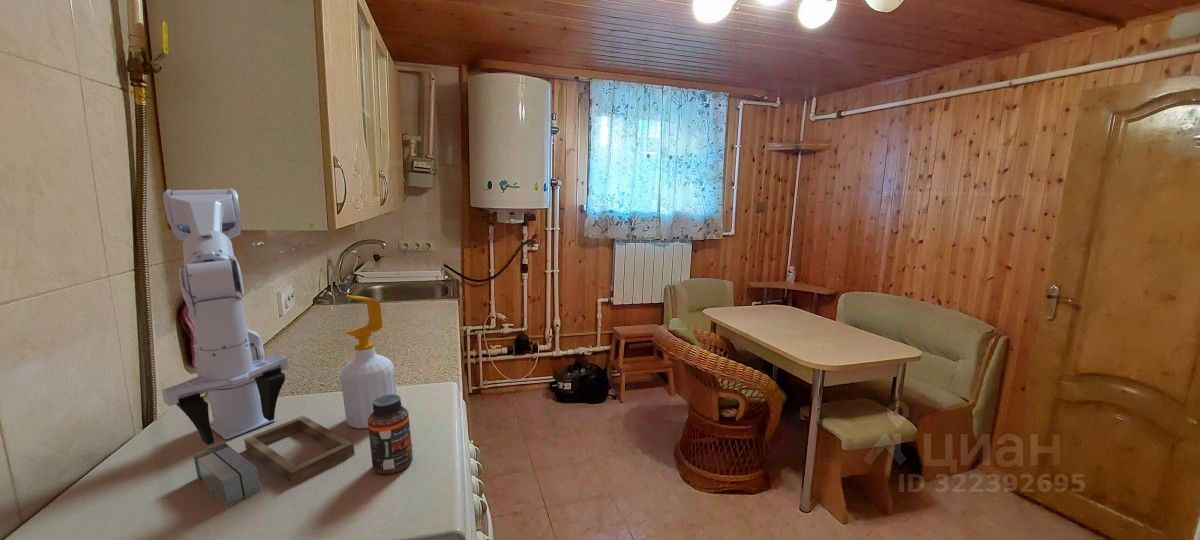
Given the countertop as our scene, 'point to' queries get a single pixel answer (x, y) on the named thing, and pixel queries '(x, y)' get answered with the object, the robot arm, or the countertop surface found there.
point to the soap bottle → (366, 371)
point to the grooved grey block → (227, 473)
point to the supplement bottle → (389, 435)
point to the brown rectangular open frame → (306, 469)
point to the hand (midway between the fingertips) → (240, 429)
